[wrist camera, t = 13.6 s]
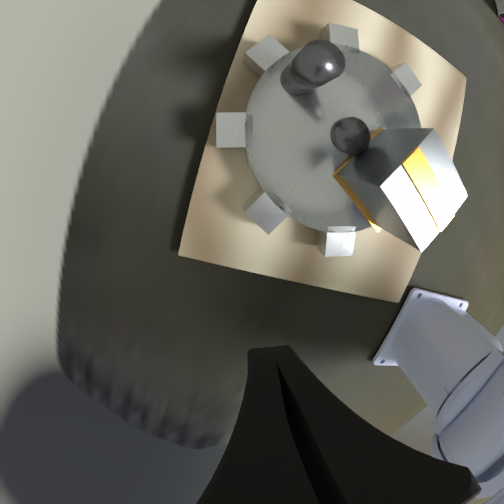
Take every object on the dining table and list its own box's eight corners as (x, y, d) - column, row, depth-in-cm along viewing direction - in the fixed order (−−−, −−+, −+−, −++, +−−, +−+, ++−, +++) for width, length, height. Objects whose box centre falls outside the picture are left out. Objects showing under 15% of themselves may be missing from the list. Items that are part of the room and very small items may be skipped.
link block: (382, 129, 14) (435, 128, 9) (416, 181, 15) (469, 196, 11) (336, 174, 14) (381, 186, 10) (375, 225, 16) (423, 252, 11)
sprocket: (330, -1, 12) (368, -40, 7) (449, 155, 16) (504, 165, 11) (164, 134, 14) (137, 127, 9) (325, 287, 19) (359, 336, 13)
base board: (461, 78, 15) (466, 78, 14) (394, 299, 21) (398, 303, 20) (269, -26, 11) (270, -31, 11) (179, 251, 17) (177, 255, 17)
